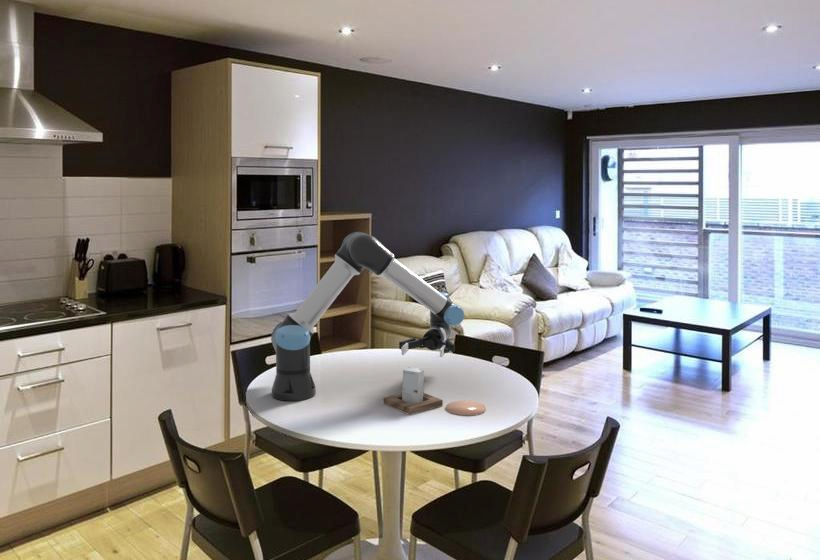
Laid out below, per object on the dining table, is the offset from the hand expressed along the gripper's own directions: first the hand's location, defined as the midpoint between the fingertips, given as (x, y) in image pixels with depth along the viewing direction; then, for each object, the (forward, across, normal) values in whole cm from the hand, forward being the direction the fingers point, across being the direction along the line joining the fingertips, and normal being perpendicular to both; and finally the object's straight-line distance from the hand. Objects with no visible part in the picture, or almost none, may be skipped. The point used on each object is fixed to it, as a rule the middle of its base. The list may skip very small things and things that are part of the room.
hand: (421, 352), depth 227 cm
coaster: (+10, -17, -16) cm, 25 cm away
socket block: (+10, +1, -15) cm, 18 cm away
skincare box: (+10, +1, -16) cm, 19 cm away
